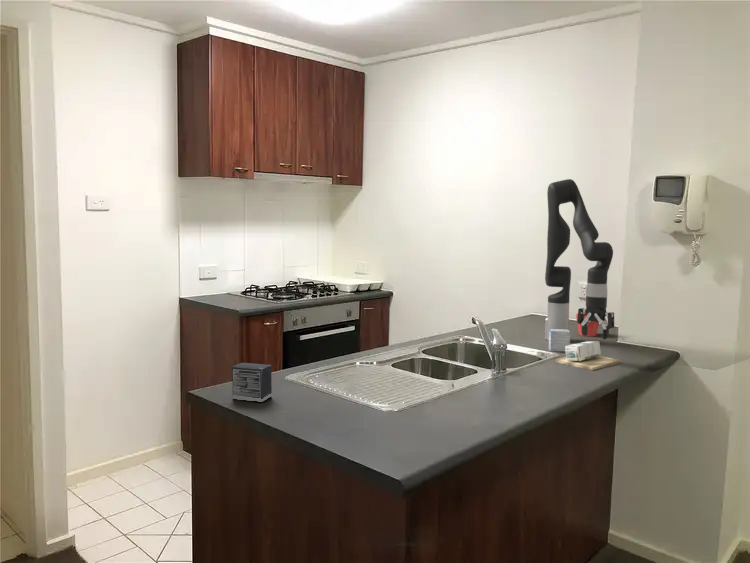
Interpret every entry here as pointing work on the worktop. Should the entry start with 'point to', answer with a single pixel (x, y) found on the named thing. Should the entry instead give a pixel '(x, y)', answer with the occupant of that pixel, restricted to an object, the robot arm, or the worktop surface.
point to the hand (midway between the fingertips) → (594, 337)
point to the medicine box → (558, 339)
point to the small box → (251, 380)
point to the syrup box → (583, 351)
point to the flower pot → (591, 327)
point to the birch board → (590, 362)
